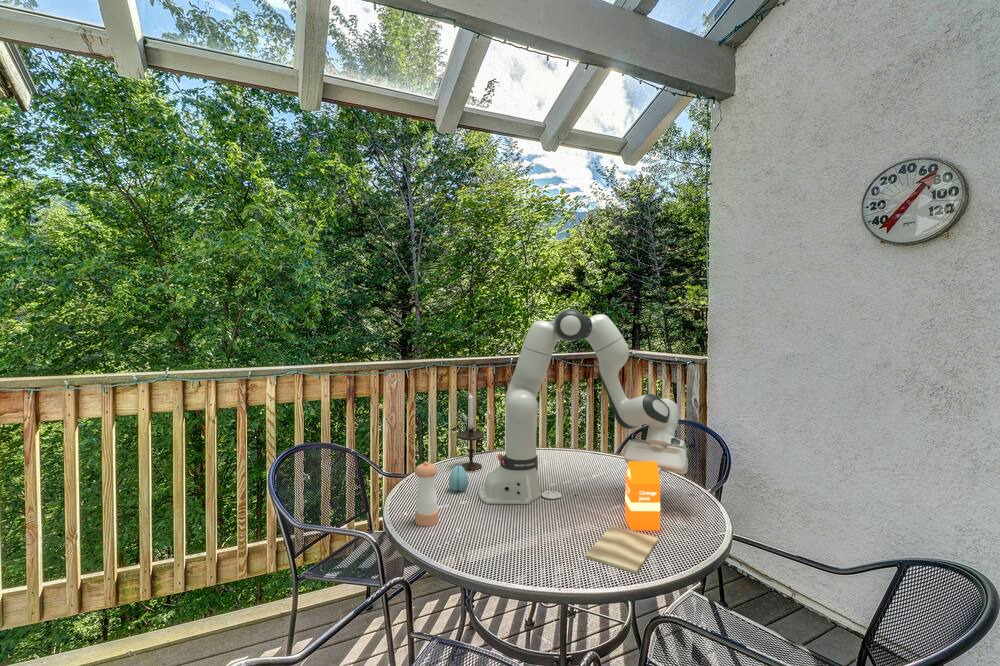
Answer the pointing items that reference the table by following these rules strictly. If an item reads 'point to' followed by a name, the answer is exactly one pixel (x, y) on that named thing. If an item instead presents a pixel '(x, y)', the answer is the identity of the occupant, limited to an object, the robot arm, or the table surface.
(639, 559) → the board
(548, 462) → the table surface
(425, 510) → the pepper shaker
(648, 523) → the orange juice
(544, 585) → the table surface
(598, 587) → the table surface
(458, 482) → the toy flower bud
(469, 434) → the candlestick
